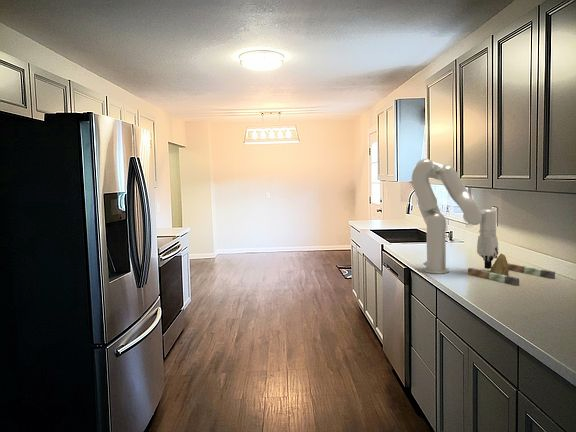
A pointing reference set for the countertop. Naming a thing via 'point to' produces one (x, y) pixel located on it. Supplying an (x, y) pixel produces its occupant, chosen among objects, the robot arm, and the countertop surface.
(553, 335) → the countertop surface
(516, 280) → the channel
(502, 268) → the rock
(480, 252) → the robot arm
